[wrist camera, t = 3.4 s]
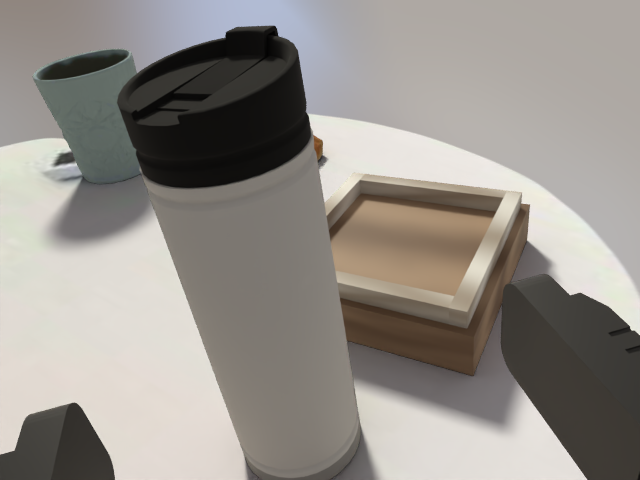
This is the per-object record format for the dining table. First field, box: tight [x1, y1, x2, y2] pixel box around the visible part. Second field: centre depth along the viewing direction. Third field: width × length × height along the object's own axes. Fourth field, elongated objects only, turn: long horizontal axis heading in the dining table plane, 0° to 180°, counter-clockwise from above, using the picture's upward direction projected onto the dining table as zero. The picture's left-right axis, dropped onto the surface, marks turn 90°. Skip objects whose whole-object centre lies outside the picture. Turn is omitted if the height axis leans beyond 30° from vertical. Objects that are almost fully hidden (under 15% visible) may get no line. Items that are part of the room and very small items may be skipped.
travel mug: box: [117, 26, 361, 480], centre depth 23 cm, size 6×7×20 cm
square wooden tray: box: [324, 173, 530, 376], centre depth 37 cm, size 14×14×4 cm
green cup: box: [33, 49, 141, 184], centre depth 59 cm, size 10×10×12 cm
